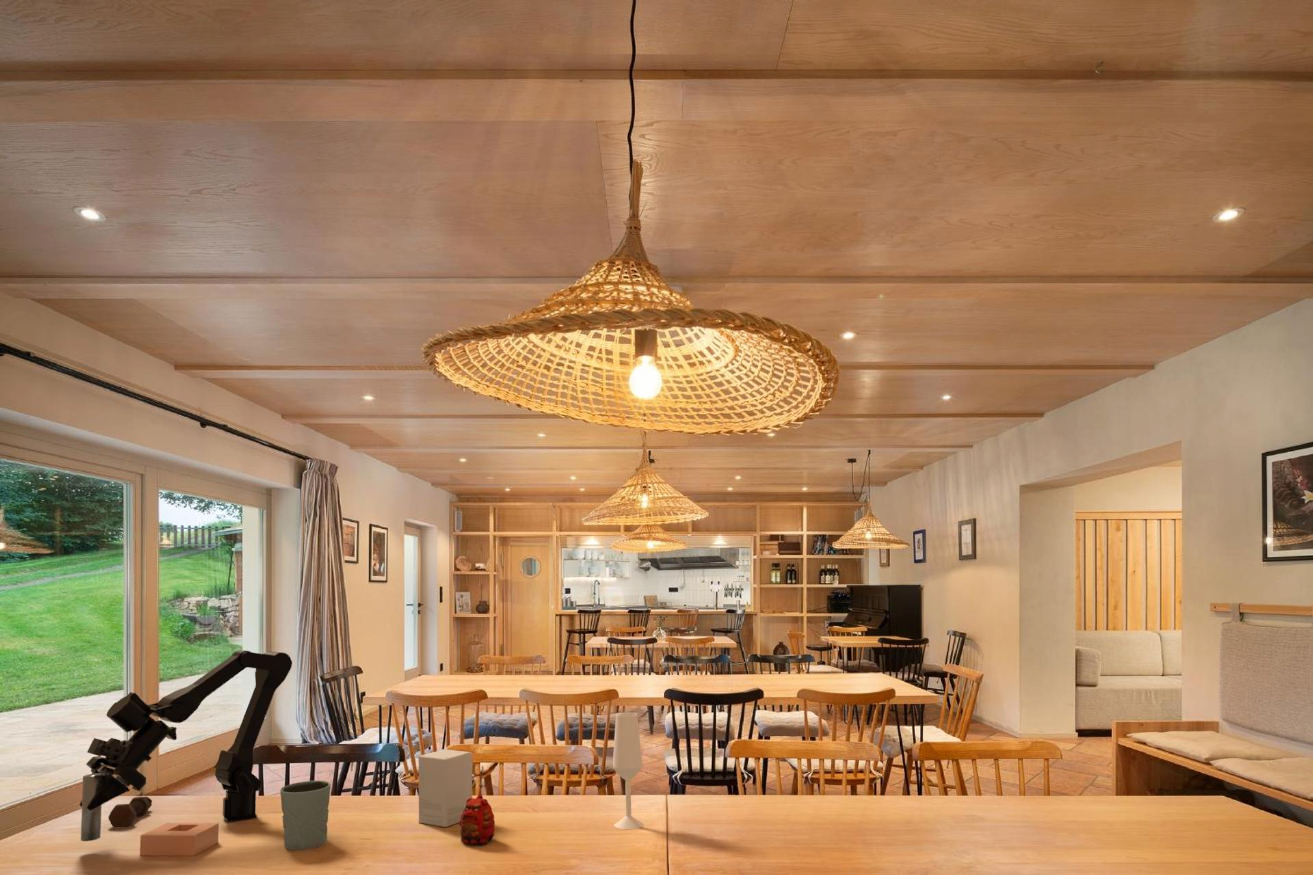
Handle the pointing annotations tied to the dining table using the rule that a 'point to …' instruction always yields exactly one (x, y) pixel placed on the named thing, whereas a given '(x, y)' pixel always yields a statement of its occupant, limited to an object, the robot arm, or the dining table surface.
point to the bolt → (129, 811)
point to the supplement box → (444, 786)
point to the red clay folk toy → (477, 819)
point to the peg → (90, 817)
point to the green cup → (305, 814)
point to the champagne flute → (627, 760)
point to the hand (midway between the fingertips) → (84, 807)
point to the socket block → (179, 839)
